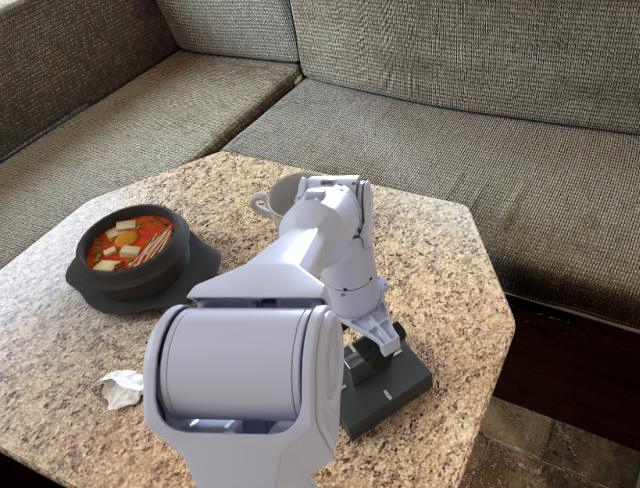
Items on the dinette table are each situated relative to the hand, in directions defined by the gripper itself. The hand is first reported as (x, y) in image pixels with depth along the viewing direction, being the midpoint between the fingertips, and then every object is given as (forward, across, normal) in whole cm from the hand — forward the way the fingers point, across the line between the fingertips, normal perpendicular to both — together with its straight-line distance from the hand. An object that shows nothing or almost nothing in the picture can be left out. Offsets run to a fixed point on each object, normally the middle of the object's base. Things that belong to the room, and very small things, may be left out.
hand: (364, 346), depth 72 cm
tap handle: (+5, 0, 0) cm, 5 cm away
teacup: (+8, +32, -6) cm, 34 cm away
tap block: (+8, 0, 0) cm, 8 cm away
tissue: (+8, +19, +27) cm, 34 cm away
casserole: (+8, +38, +18) cm, 43 cm away
